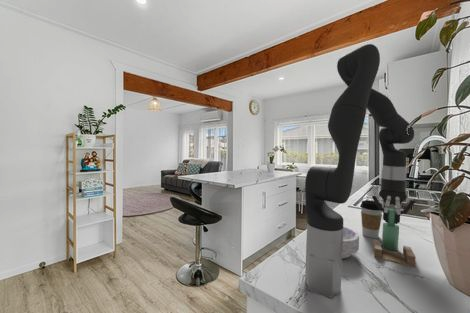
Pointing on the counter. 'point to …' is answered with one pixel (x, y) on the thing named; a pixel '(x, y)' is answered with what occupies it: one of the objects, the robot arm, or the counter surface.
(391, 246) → the bottle
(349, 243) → the paper bowls
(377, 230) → the coffee cup
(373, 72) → the robot arm
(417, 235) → the counter surface
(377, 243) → the cradle
